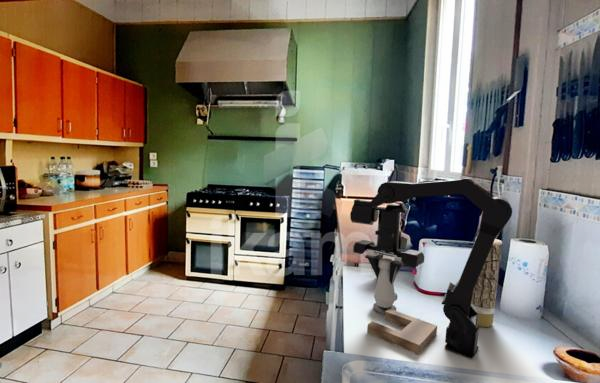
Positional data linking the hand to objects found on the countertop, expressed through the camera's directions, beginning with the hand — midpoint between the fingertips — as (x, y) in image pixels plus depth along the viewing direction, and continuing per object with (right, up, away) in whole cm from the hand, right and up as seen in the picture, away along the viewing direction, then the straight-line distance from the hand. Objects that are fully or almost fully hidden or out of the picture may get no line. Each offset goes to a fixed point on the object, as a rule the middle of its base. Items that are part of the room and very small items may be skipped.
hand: (385, 282), depth 93 cm
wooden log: (+29, -14, +6) cm, 33 cm away
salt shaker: (0, -7, +1) cm, 7 cm away
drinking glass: (+9, -9, +37) cm, 39 cm away
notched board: (+4, -13, -3) cm, 14 cm away
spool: (+3, -12, +11) cm, 16 cm away
